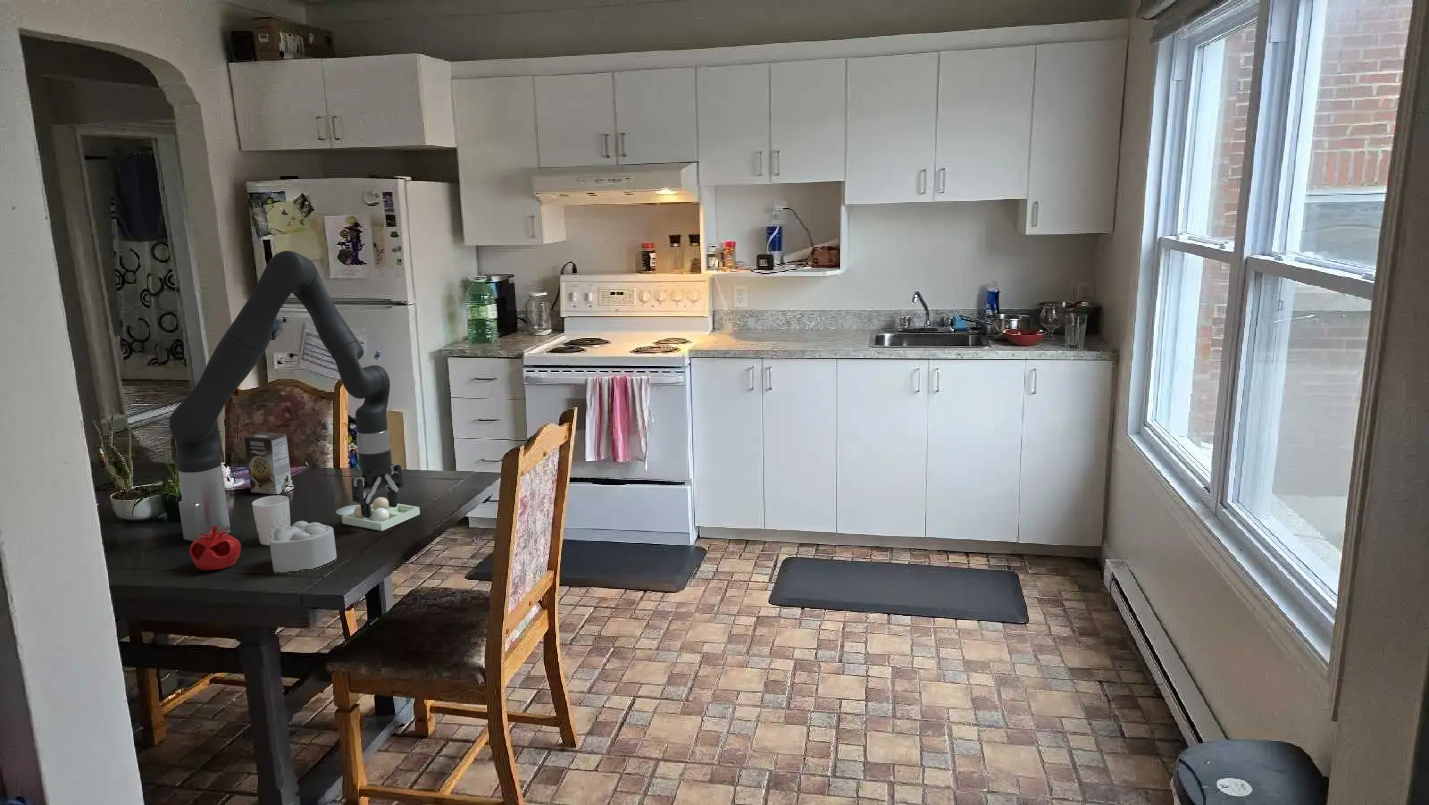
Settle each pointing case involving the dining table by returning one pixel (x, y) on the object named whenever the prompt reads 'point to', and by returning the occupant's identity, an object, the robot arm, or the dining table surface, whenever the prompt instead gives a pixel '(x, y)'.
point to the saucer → (346, 510)
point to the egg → (380, 515)
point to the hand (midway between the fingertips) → (380, 511)
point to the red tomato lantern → (215, 550)
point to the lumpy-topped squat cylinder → (302, 546)
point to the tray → (395, 517)
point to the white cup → (270, 515)
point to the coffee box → (268, 462)
